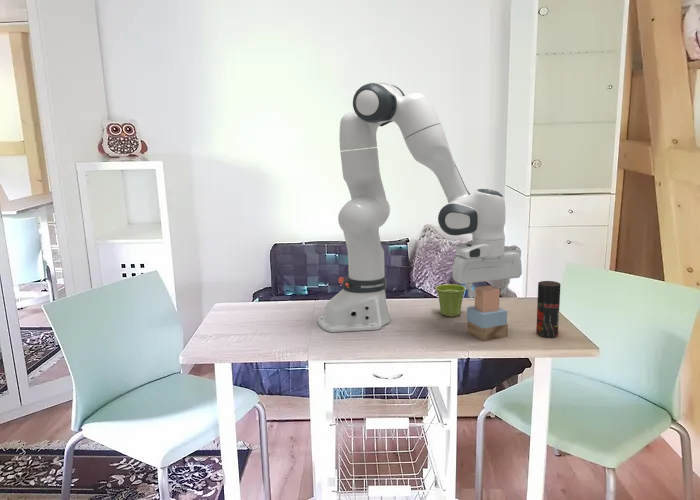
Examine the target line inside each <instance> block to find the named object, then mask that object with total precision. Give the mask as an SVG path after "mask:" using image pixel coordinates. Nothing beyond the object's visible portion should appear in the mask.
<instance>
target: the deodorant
mask: <svg viewBox="0 0 700 500" xmlns="http://www.w3.org/2000/svg"><path fill="white" fill-rule="evenodd" d="M537 283H538V284H537V301H536V302H537V306H536V307H537V308H536V330H535V331H536V333H535V334H536V336H538V337H541V338H543V339H555V338H557V337H558V336H559V321H560V304H561V301H560V300H561V283H560V282H558V281H553V280H541V281H539V282H537Z"/></svg>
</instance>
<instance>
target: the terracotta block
mask: <svg viewBox="0 0 700 500" xmlns="http://www.w3.org/2000/svg"><path fill="white" fill-rule="evenodd" d="M474 291H476V297H474V306H475V308H476V309H478V310H480V311H481V312H491V311H499V308H500V295H501V294H500V290H499V289H498V287H494V286H492V285H484V286H477V287H476V286H475V287H474Z"/></svg>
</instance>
